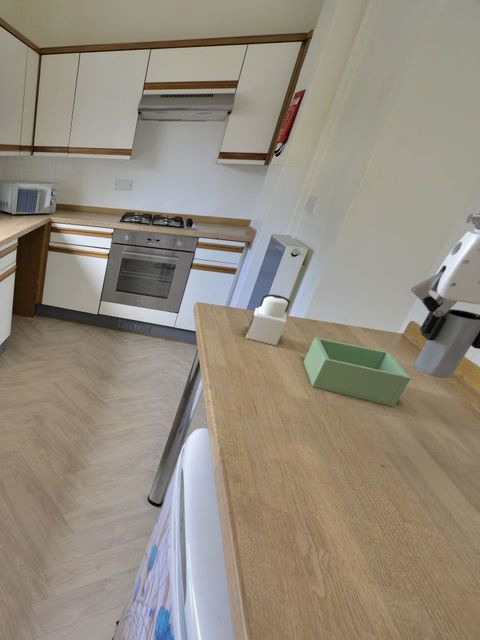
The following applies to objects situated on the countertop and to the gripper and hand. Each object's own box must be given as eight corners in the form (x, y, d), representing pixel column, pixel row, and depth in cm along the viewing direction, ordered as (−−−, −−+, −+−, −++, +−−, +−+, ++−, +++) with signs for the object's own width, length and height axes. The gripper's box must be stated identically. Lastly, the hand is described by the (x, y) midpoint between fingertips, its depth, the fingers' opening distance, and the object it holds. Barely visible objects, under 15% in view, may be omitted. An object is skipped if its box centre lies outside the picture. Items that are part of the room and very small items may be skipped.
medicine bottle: (247, 330, 117) (262, 290, 112) (277, 337, 113) (293, 296, 108) (245, 338, 112) (260, 297, 107) (276, 346, 108) (294, 303, 103)
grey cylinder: (407, 367, 69) (439, 311, 65) (420, 363, 71) (452, 307, 67) (443, 380, 66) (480, 321, 61) (456, 375, 67) (493, 317, 63)
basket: (375, 378, 94) (389, 352, 91) (394, 406, 84) (411, 378, 81) (303, 362, 100) (314, 337, 97) (312, 386, 90) (325, 359, 87)
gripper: (448, 222, 59) (387, 337, 67) (633, 237, 51) (541, 364, 59) (427, 216, 65) (374, 322, 73) (590, 228, 57) (512, 345, 65)
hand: (450, 340), depth 66 cm, fingers closed on grey cylinder, 4 cm apart
